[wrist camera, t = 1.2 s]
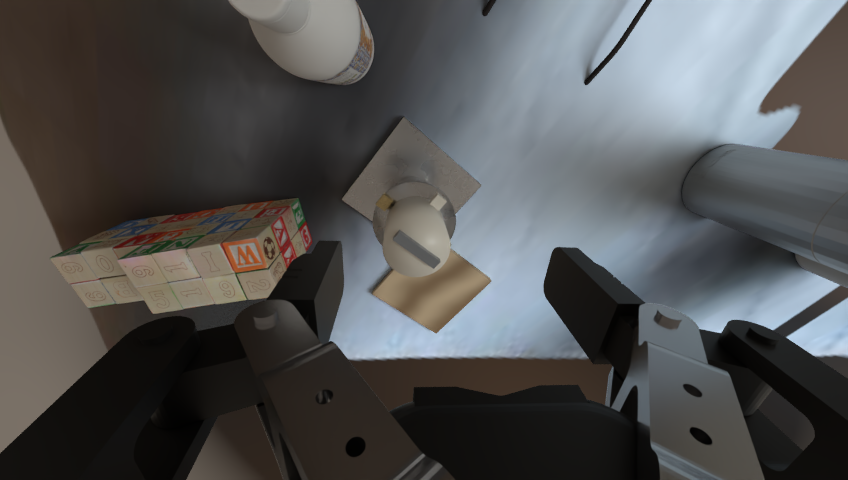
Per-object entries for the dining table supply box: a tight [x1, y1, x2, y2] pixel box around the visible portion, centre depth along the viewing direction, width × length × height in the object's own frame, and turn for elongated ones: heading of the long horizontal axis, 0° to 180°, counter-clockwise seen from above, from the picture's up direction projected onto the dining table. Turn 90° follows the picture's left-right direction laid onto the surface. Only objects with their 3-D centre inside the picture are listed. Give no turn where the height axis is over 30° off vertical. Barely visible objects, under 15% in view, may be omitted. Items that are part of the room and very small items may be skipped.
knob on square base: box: [342, 117, 481, 246], centre depth 32 cm, size 12×12×11 cm
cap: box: [383, 192, 451, 277], centre depth 25 cm, size 5×7×6 cm
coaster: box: [372, 249, 491, 333], centre depth 43 cm, size 12×12×1 cm
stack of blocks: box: [50, 198, 312, 314], centre depth 33 cm, size 21×6×12 cm, turn 97°
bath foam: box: [228, 0, 374, 85], centre depth 22 cm, size 7×7×20 cm
